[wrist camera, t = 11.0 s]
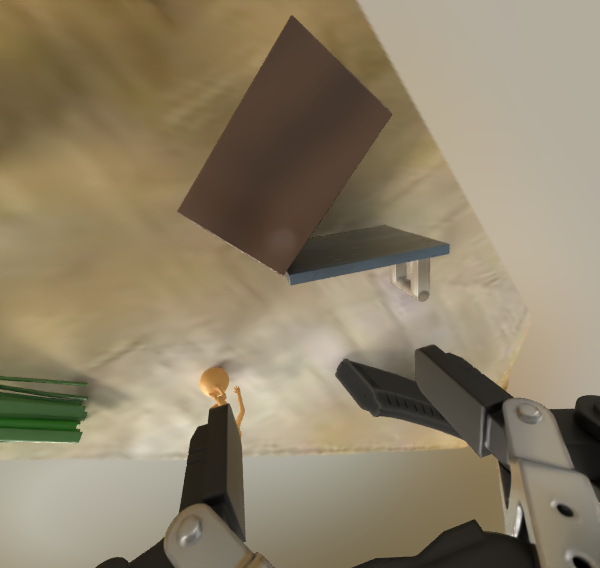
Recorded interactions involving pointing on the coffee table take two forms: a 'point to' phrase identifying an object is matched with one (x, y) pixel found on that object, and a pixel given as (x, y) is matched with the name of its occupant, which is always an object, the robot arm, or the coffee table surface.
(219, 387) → the figurine
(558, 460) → the robot arm
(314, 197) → the cupboard
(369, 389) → the magazine
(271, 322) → the coffee table surface
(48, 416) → the daffodil flowers
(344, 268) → the cupboard door
